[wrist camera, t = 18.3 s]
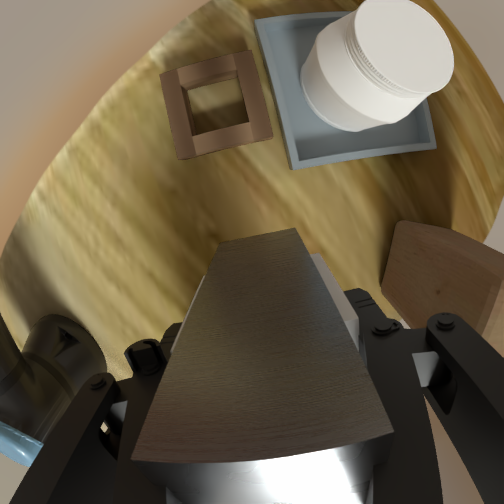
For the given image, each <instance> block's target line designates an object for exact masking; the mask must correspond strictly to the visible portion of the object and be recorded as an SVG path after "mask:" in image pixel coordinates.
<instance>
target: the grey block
mask: <svg viewBox="0 0 504 504" xmlns="http://www.w3.org/2000/svg"><path fill="white" fill-rule="evenodd" d="M393 436H394V430H393V427H392V425H391V423H390V420H389V418H388V416H387V413H386V411H385V409H384V406H383V404H382V402H381V400H380V397H379V395H378V393H377V391H376V388H375V386H374V384H373V382H372V380H371V377H370V375H369V373H368V371H367V369H366V366H365V364H364V362H363V360H362V358H361V356H360V354H359V352H358V349H357V347H356V345H355V343H354V341H353V339H352V337H351V335H350V333H349V331H348V329H347V327H346V325H345V323H344V321H343V318H342V316H341V314H340V312H339V310H338V308H337V306H336V304H335V302H334V300H333V298H332V297H331V295H330V293H329V291H328V289H327V287H326V285H325V283H324V281H323V279H322V277H321V275H320V273H319V271H318V269H317V267H316V266H315V264H314V262H313V260H312V258H311V256H310V254H309V252H308V250H307V249H306V247H305V245H304V243H303V241H302V239H301V237H300V236H299V234H298V232H297V230H296V228H291V229H286V230H281V231H276V232H271V233H266V234H261V235H256V236H251V237H247V238H242V239H237V240H232V241H227V242H222V243H220V244H219V246H218V248H217V251H216V253H215V255H214V257H213V259H212V262H211V264H210V266H209V268H208V271H207V273H206V275H205V277H204V280H203V282H202V284H201V286H200V289H199V291H198V293H197V296H196V298H195V300H194V303H193V305H192V307H191V309H190V312H189V314H188V316H187V319H186V321H185V323H184V326H183V328H182V331H181V333H180V335H179V338H178V340H177V342H176V345H175V347H174V350H173V352H172V354H171V357H170V359H169V362H168V364H167V367H166V369H165V371H164V374H163V376H162V379H161V381H160V384H159V386H158V389H157V391H156V394H155V396H154V399H153V401H152V404H151V406H150V409H149V412H148V414H147V417H146V419H145V422H144V424H143V427H142V430H141V432H140V435H139V438H138V440H137V443H136V446H135V448H134V451H133V454H132V456H131V459H130V460H131V461H132V462H133V463H134V464H135V466H136V467H137V468H138V469H139V470H140V471H141V472H142V473H143V474H144V475H145V477H146V478H147V479H148V480H149V481H150V482H151V483H152V484H153V485H155V486H166V487H167V488H168V489H169V490H170V491H171V492H172V493H173V494H174V495H175V496H176V497H177V498H178V499H179V500H180V501H181V502H182V503H183V504H365V503H366V498H367V494H368V489H369V485H370V480H371V475H372V470H373V465H376V464H380V463H383V462H386V461H388V458H389V454H390V450H391V445H392V441H393Z"/></svg>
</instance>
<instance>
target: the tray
mask: <svg viewBox="0 0 504 504" xmlns="http://www.w3.org/2000/svg"><path fill="white" fill-rule="evenodd" d="M351 12H353V11H339V12H316V13H303V14H292V15H284V16H276V17H269V18H262V19H256V20H254V23H255V33H256V36H257V40H258V43H259V47H260V50H261V54H262V58H263V61H264V65H265V69H266V72H267V76H268V80H269V84H270V87H271V91H272V95H273V99H274V103H275V107H276V111H277V115H278V119H279V123H280V128H281V132H282V136H283V140H284V145H285V149H286V154H287V158H288V163H289V167H290V170H297V169H302V168H307V167H313V166H318V165H324V164H330V163H335V162H341V161H348V160H354V159H360V158H367V157H374V156H381V155H388V154H396V153H404V152H412V151H421V150H430V149H437V146H436V140H435V135H434V129H433V124H432V120H431V115H430V110H429V106H428V102H427V98H425V99H424V100H423V101H422V102H421V103H420V104H419V105H418V106H416V107H415V108H414V109H413V110H412V111H411V112H410V113H409V115H407V116H406V117H404V118H402V119H401V120H399V121H397V122H396V123H392V124H383V125H379V126H375V127H371V128H368V129H364V130H362V131H359V132H350V131H344V130H341V129H338V128H335V127H333V126H331V125H329V124H328V123H326V122H324V121H323V120H322V119H321V118H319V117H318V116H317V115H316V114H315V113H314V112H313V110H312V109H311V108H310V107H309V105H308V103H307V102H306V100H305V98H304V95H303V93H302V89H301V84H300V73H301V68H302V66H303V64H305V62H306V60H307V58H308V56H309V54H310V52H311V50H312V48H313V46H314V44H315V40H316V37H317V35H318V34H319V33H320V32H321V31H322V30H323V29H324V28H325V27H327V26H328V25H329V24H330V23H333V22H335V21H337V20H338V19H340V18H342V17H344V16H346V15H348V14H350V13H351Z"/></svg>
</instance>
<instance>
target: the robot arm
mask: <svg viewBox="0 0 504 504" xmlns="http://www.w3.org/2000/svg"><path fill="white" fill-rule="evenodd" d="M310 256H311V258H312V260H313V262H314V264H315V266H316V267H317V269H318V271H319V273H320V275H321V277H322V279H323V281H324V283H325V285H326V287H327V289H328V291H329V293H330V295H331V297H332V298H333V300H334V302H335V304H336V306H337V308H338V310H339V312H340V314H341V316H342V318H343V321H344V323H345V325H346V327H347V329H348V331H349V333H350V335H351V337H352V339H353V341H354V343H355V345H356V347H357V349H358V352H359V354H360V356H361V358H362V360H363V362H364V364H365V366H366V369H367V371H368V373H369V375H370V377H371V380H372V382H373V384H374V386H375V388H376V391H377V393H378V395H379V397H380V400H381V402H382V404H383V406H384V409H385V411H386V413H387V416H388V418H389V420H390V423H391V425H392V427H393V430H394V436H393V441H392V445H391V450H390V454H389V458H388V461H386V462H383V463H380V464H376V465H373V470H372V475H371V480H370V485H369V489H368V494H367V498H366V503H365V504H443V497H442V488H441V480H440V474H439V468H438V461H437V455H436V449H435V444H434V439H433V434H432V429H431V424H430V420H429V416H428V411H427V407H426V403H425V399H424V396H425V397H426V399H427V401H428V402H429V404H430V405H431V407H432V409H433V410H434V412H435V414H436V415H437V417H438V419H439V420H440V422H441V424H442V425H443V427H444V429H445V431H446V432H447V434H448V436H449V438H450V439H451V441H452V443H453V445H454V446H455V448H456V450H457V452H458V453H459V455H460V457H461V459H462V461H463V463H464V464H465V466H466V468H467V470H468V472H469V474H470V476H471V478H472V480H473V481H474V484H475V485H476V488H477V489H478V492H479V493H480V495H481V498H482V500H483V502H484V504H504V358H503V357H502V356H501V355H500V354H499V353H498V352H497V351H496V350H495V349H494V348H493V347H492V346H491V345H490V344H489V343H488V342H487V341H486V340H485V339H484V338H483V337H482V336H481V335H480V334H478V333H477V332H476V331H475V330H474V329H473V328H472V327H471V326H470V325H469V324H468V323H467V322H465V321H464V320H463V319H462V318H461V317H459V316H458V315H456V314H452V313H448V312H446V313H445V312H443V313H438V314H435V315H433V316H431V317H430V318H429V319H428V320H427V326H426V328H417V329H404V328H403V326H402V324H401V323H400V322H399V321H397V320H395V319H390V318H387V317H386V316H385V314H384V313H383V312H382V310H381V309H380V308H379V306H378V305H377V304H376V302H375V301H374V300H373V299H372V297H371V296H370V294H369V293H368V292H367V291H365V290H362V289H360V288H357V289H352V290H348V291H344V292H343V291H342V289H341V288H340V286H339V284H338V283H337V281H336V279H335V278H334V276H333V274H332V273H331V271H330V270H329V268H328V266H327V265H326V263H325V262H324V260H323V258H322V257H321V255H320V254H319V253H316V254H311V255H310ZM204 277H205V276H203V278H202V280H201V282H200V285H199V287H198V289H197V291H196V294H195V296H194V298H193V300H192V303H191V305H190V307H189V309H188V312H187V314H186V316H185V318H184V321H183V322H181V323H174V324H172V325H171V326H170V327H169V328H168V329H167V330H166V331H165V333H164V335H163V338H162V339H161V341H160V343H159V341H157V340H156V339H144V340H141V341H138V342H136V343H134V344H132V345H130V346H129V347H128V348H127V349H126V350H125V352H124V355H125V357H126V359H127V361H128V363H129V365H130V367H131V369H132V371H133V377H131V378H128V379H124V380H120V381H117V382H116V380H115V378H114V376H113V375H112V374H110V373H107V365H106V361H105V358H104V356H103V354H102V352H101V350H100V348H99V346H98V345H97V343H96V342H95V341H94V339H93V338H92V337H91V336H90V335H89V334H88V333H87V332H86V331H85V330H84V329H83V328H82V327H80V326H79V325H78V324H76V323H75V322H73V321H72V320H70V319H68V318H66V317H63V316H60V315H47V316H44V317H43V318H42V319H40V320H39V321H38V322H37V323H36V324H35V325H34V326H33V328H32V330H31V332H30V334H29V336H28V338H27V341H26V343H25V345H24V348H23V350H22V352H20V350H19V349H18V347H17V345H16V343H15V341H14V339H13V338H12V336H11V334H10V332H9V330H8V328H7V326H6V324H5V322H4V320H3V318H2V315H1V313H0V452H1V453H2V454H4V455H6V456H7V457H9V458H10V459H12V460H14V461H15V462H17V463H19V464H22V465H24V466H27V467H30V468H29V470H28V471H27V473H26V475H25V476H24V478H23V480H22V481H21V483H20V485H19V487H18V488H17V490H16V492H15V494H14V496H13V497H12V499H11V501H10V503H9V504H183V503H182V502H181V501H180V500H179V499H178V498H177V497H176V496H175V495H174V494H173V493H172V492H171V491H170V490H169V489H168V488H167V487H166V486H155V485H153V484H152V483H151V482H150V481H149V480H148V479H147V478H146V477H145V475H144V474H143V473H142V472H141V471H140V470H139V469H138V468H137V467H136V466H135V464H134V463H133V462H132V461H131V460H130V459H131V456H132V454H133V451H134V448H135V446H136V443H137V440H138V438H139V435H140V432H141V430H142V427H143V424H144V422H145V419H146V417H147V414H148V412H149V409H150V406H151V404H152V401H153V399H154V396H155V394H156V391H157V389H158V386H159V384H160V381H161V379H162V376H163V374H164V371H165V369H166V367H167V364H168V362H169V359H170V357H171V354H172V352H173V350H174V347H175V345H176V342H177V340H178V338H179V335H180V333H181V331H182V328H183V326H184V323H185V321H186V319H187V316H188V314H189V312H190V309H191V307H192V305H193V303H194V300H195V298H196V296H197V293H198V291H199V289H200V286H201V284H202V282H203V280H204ZM423 394H424V395H423ZM103 422H104V423H105V424H106V426H107V427H108V429H107V431H106V432H105V433H104V432H103V431H102V429H101V428H100V427H101V425H102V424H103Z"/></svg>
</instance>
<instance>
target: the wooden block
mask: <svg viewBox="0 0 504 504" xmlns="http://www.w3.org/2000/svg"><path fill="white" fill-rule="evenodd" d="M381 292H382V294H383V295H384V297H385V298H386V299H387V300H388V301H389V302H390V304H391V305H392V306H393V307H394V308H395V310H396V311H397V312H398V313H399V315H400V316H401V317H402V318H403V319H404V321H405V322H406V323H407V324H408V325H409V327H410V328H411V329H417V328H426V326H427V320H428V319H429V318H430V317H431V316H433V315H435V314H438V313H443V312H445V313H446V312H448V313H452V314H456V315H458V316H459V317H461V318H462V319H463V320H464V321H465V322H467V323H468V324H469V325H470V326H471V327H472V328H473V329H474V330H475V331H476V332H477V333H478V334H480V335H481V336H482V337H483V338H484V339H485V340H486V341H487V342H488V343H489V344H490V345H491V346H492V347H493V348H494V349H495V350H496V351H497V352H498V353H499V354H500V355H501V356H502V357H503V358H504V254H502V253H500V252H498V251H496V250H494V249H492V248H490V247H488V246H486V245H484V244H482V243H480V242H478V241H476V240H474V239H472V238H470V237H467V236H465V235H463V234H461V233H459V232H456V231H454V230H452V229H447V228H443V227H438V226H433V225H428V224H422V223H417V222H412V221H406V220H402V221H399V222H397V224H396V225H395V230H394V235H393V239H392V244H391V248H390V253H389V257H388V261H387V266H386V270H385V274H384V277H383V281H382V285H381Z"/></svg>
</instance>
